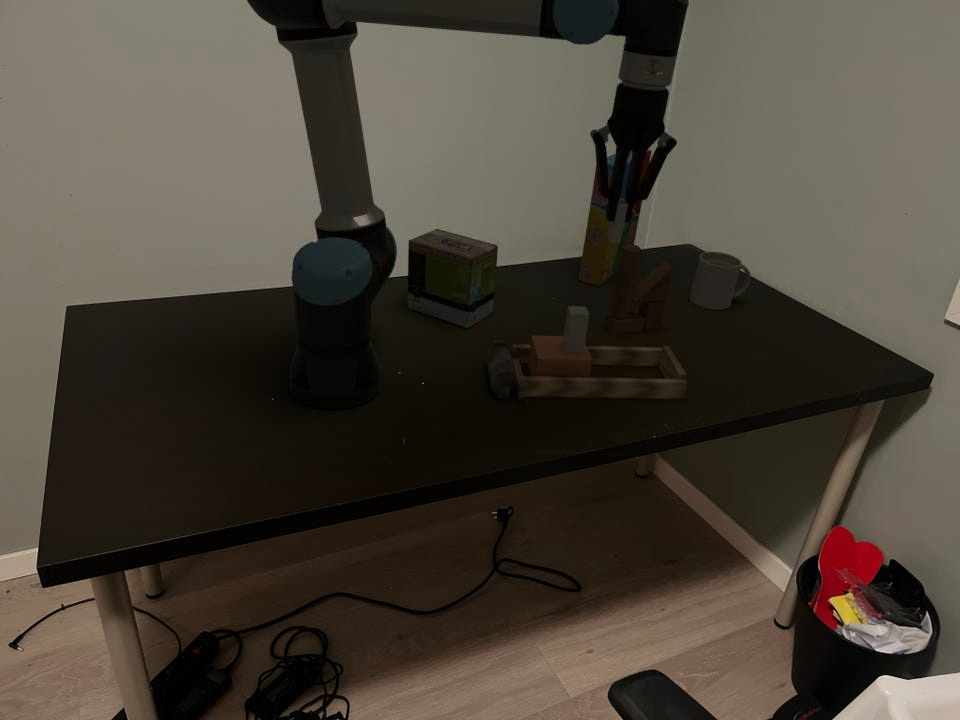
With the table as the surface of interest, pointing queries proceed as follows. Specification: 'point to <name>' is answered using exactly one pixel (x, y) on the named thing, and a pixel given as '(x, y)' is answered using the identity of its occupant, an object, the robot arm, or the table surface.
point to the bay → (510, 377)
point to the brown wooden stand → (638, 294)
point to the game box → (607, 230)
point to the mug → (717, 280)
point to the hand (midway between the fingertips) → (613, 240)
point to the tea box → (451, 277)
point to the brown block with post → (563, 349)
